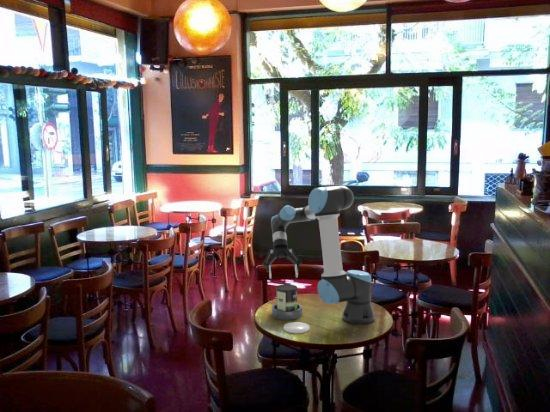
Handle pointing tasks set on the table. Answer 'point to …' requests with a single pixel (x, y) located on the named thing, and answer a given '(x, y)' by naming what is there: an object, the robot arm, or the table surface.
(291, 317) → the ring collar
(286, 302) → the coffee can
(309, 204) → the robot arm
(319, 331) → the table surface
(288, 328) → the saucer
